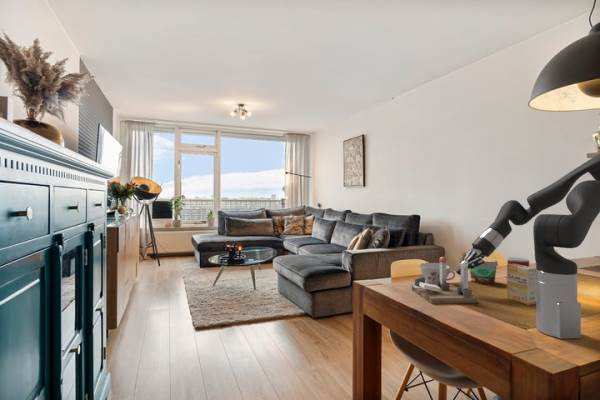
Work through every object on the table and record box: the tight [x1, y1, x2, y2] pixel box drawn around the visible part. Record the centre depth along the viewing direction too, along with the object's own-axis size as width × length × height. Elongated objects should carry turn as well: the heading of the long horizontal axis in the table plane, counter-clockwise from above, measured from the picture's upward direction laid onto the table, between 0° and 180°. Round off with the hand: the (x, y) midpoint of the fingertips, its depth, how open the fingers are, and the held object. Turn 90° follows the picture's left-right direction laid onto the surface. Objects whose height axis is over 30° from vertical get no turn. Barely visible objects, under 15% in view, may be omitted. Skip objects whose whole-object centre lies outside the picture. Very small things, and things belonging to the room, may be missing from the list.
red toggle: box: [438, 256, 447, 287], centre depth 132 cm, size 3×3×12 cm
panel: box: [409, 281, 479, 305], centre depth 130 cm, size 20×18×5 cm
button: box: [414, 276, 426, 286], centre depth 137 cm, size 4×4×3 cm
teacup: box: [419, 262, 456, 284], centre depth 149 cm, size 15×12×8 cm
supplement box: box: [506, 263, 536, 306], centre depth 122 cm, size 8×5×13 cm, turn 21°
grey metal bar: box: [459, 261, 469, 294], centre depth 123 cm, size 3×3×12 cm
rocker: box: [419, 282, 441, 292], centre depth 128 cm, size 4×6×1 cm
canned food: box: [507, 257, 530, 267], centre depth 147 cm, size 8×8×11 cm
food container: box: [469, 259, 499, 285], centre depth 149 cm, size 12×6×10 cm, turn 76°
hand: (457, 273), depth 133 cm, fingers closed
